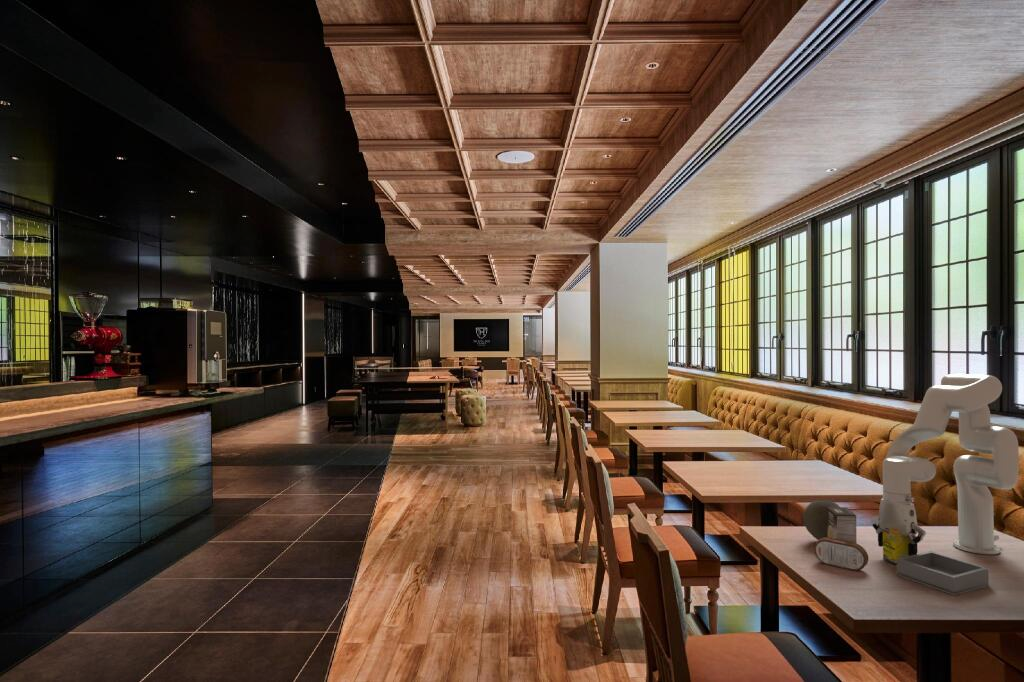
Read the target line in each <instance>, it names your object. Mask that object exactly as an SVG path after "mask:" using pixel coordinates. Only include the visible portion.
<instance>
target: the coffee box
mask: <svg viewBox="0 0 1024 682" xmlns="http://www.w3.org/2000/svg"><path fill="white" fill-rule="evenodd" d="M827 528H828V537H830V538H834V539H839V540H844V541H849V542H854V543H857V514H855V513H854V512H853V511H852V510H850V508H848V507H846V506H845V507H841V506H840V507H827ZM857 544H858V543H857Z"/></svg>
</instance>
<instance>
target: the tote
mask: <svg viewBox="0 0 1024 682" xmlns="http://www.w3.org/2000/svg"><path fill="white" fill-rule="evenodd" d="M897 575H898V577H900V576H901V577H900V578H902V579H903V578H904V579H906V580H909V581H911V580H912V581H911V582H914V581H915V582H916V583H917V582H918V583H917V584H920V583H921V584H920V585H923V584H924V585H923V586H926V585H927V586H926V587H928V586H930V587H929V588H931V587H932V589H934V588H935V589H934V590H937V589H938V591H940V590H941V591H940V592H943V593H945V592H946V594H948V593H949V595H951V594H952V596H954V595H955V596H957V595H958V594H959V595H963V594H965V592H966V593H969V592H972V591H975V590H976V591H977V590H979V589H982V588H986V587H989V585H990V582H989V581H990V580H989V577H990V576H989V568H988V567H985V566H983V565H982V566H981V565H979V564H975V563H971V562H969V561H966V560H962V559H958V558H954V557H951V556H949V555H944V554H941V553H939V552H938V553H937V552H935V551H932V550H930V551H925V552H921V553H917V554H916V555H911V556H907V557H903V558H899V559H897V566H896V576H897ZM915 582H914V583H915Z"/></svg>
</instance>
